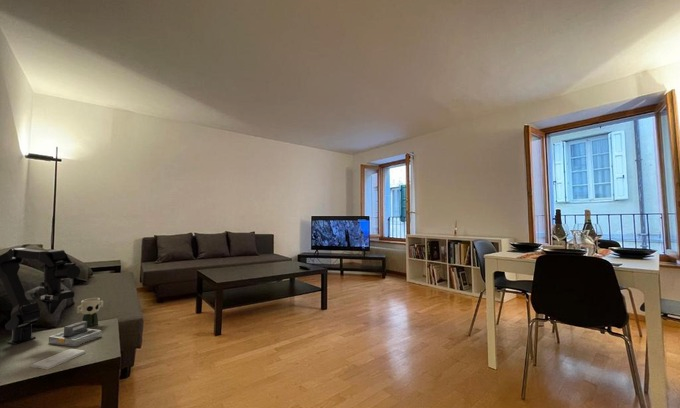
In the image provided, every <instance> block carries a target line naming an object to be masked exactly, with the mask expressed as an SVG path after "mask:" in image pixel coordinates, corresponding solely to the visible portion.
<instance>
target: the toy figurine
mask: <svg viewBox="0 0 680 408" xmlns="http://www.w3.org/2000/svg"><path fill="white" fill-rule="evenodd" d="M80 303H81V304H80V305H78V306H77V307H76V313H77V314H79V313H81V314H82V315H83V316H82V320H81V321H87V328H89V327H92V326H93V324H94V326H96V325H98V324H99V318H98V313H97V312H99V310H100V308H103V307H104V300H101V299H100V297H91V298H86V299H82V300H81V302H80Z"/></svg>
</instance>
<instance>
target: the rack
mask: <svg viewBox="0 0 680 408" xmlns="http://www.w3.org/2000/svg"><path fill="white" fill-rule="evenodd" d="M101 337H102V330H101V329H97V328H95V329H93V328H87V331H86V332H83V333H80V334H77V335H74V336H72V337H69V338H64V331H61V332H58V333H56V334H53V335H49V336H48V344H51V345H58V346H59V345H60V346H66V347H67V346H68V347H73V348H74V347H78V346H80V344H81V345H83V344H85V342H86V343H88V342H90V341H89V340H91V341H94V340H95V339H96V340H97V339H98V338H101ZM87 341H88V342H87ZM82 343H83V344H82Z"/></svg>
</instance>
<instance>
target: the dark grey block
mask: <svg viewBox="0 0 680 408" xmlns="http://www.w3.org/2000/svg"><path fill="white" fill-rule="evenodd" d="M87 329H88V327H87V321H82V320H81V321H78V322H75V323H72V324H69V325H65V326H64V327H63V332H64V338H69V337H72V336H74V335H77V334H80V333H83V332H86V331H87Z"/></svg>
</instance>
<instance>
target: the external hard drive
mask: <svg viewBox="0 0 680 408" xmlns="http://www.w3.org/2000/svg"><path fill="white" fill-rule="evenodd" d="M84 354H86V350H82V349H75V348H69V349H67V350H64V351H61V352H58V353H56V354H54V355H51V356H49V357H46V358H44V359H42V360H39V361H37V362H34V363H32V364H30V368H33V369H35V368H36V369H42V370H50V369H51V368H53V367H55V366H59V365H60V364H64V363H65V362H68V361H70V360H72V359H75V358H77V357H79V356H82V355H84Z"/></svg>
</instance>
